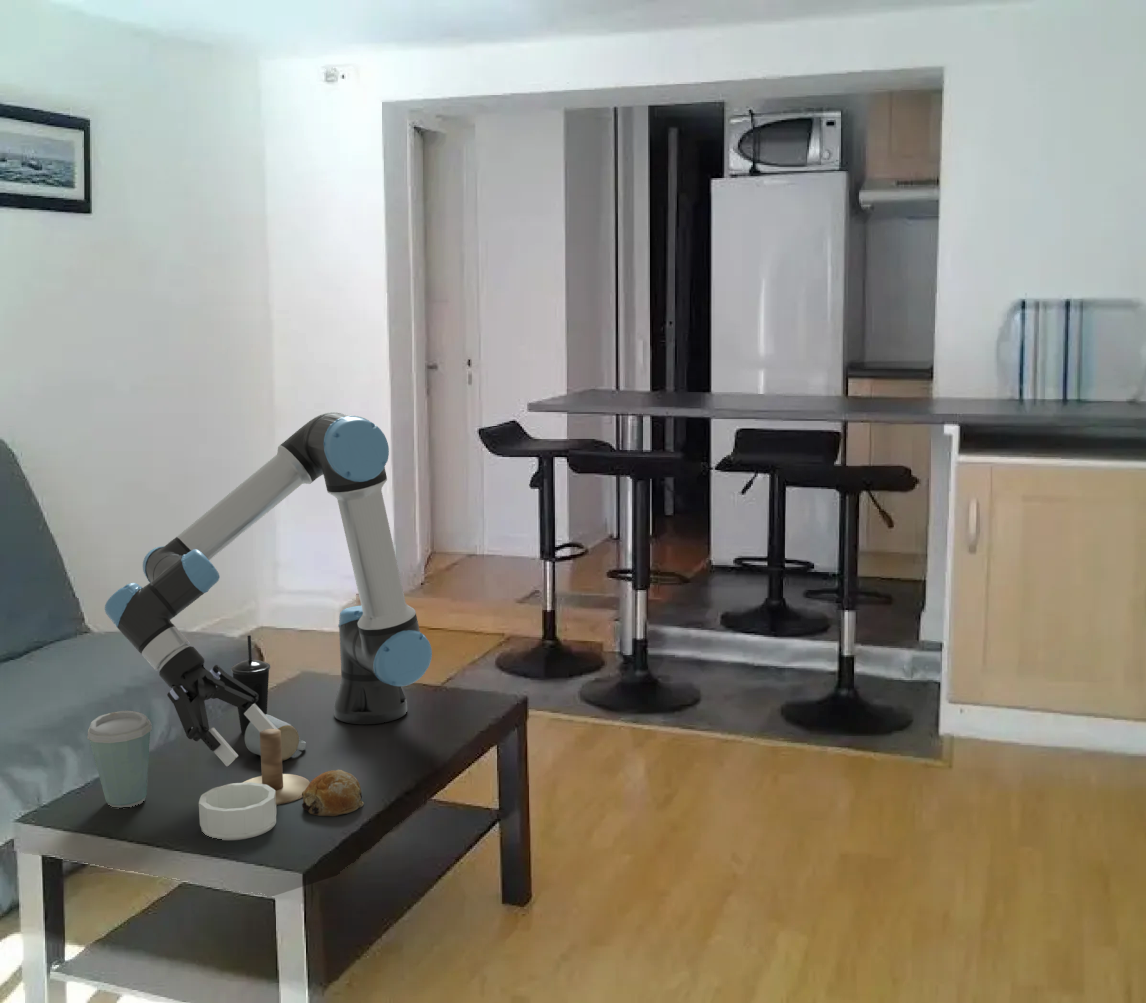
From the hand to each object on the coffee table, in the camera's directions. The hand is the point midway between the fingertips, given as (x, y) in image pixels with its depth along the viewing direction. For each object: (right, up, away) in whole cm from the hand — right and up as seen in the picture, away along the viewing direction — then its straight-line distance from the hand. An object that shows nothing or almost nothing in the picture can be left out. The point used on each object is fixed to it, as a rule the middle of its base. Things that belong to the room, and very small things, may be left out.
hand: (253, 748), depth 223 cm
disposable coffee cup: (-22, -9, -3) cm, 24 cm away
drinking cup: (-8, -3, +32) cm, 33 cm away
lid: (+3, -8, +1) cm, 9 cm away
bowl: (+1, -10, -13) cm, 17 cm away
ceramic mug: (0, -5, +19) cm, 20 cm away
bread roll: (+15, -9, -6) cm, 18 cm away
